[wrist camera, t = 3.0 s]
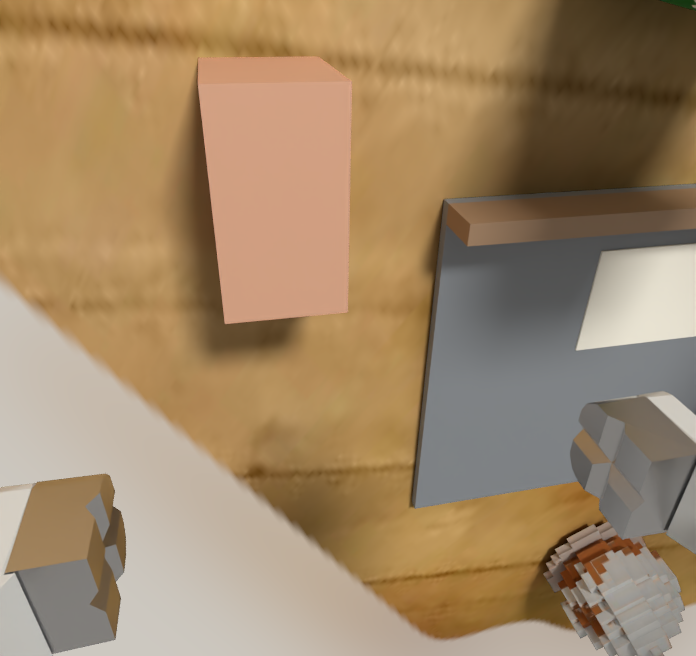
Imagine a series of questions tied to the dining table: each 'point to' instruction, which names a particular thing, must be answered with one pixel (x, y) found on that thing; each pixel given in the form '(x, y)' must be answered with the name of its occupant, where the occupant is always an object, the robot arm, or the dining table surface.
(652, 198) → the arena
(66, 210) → the dining table surface
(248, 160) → the salmon block
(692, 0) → the milk carton
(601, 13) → the dining table surface
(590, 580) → the decorative ornament
